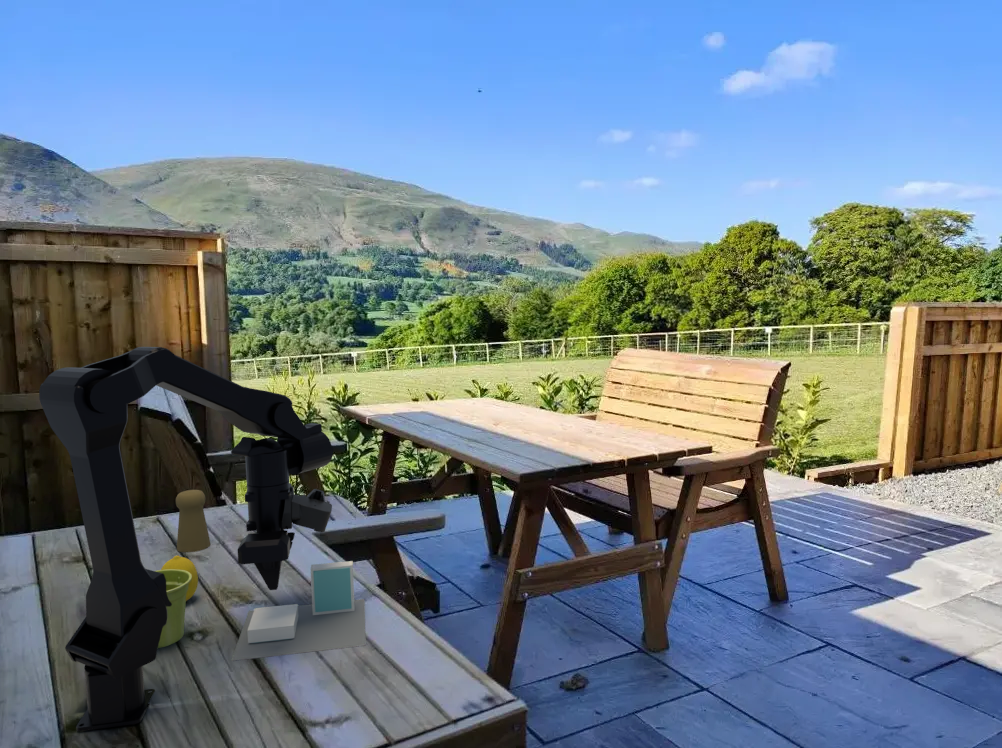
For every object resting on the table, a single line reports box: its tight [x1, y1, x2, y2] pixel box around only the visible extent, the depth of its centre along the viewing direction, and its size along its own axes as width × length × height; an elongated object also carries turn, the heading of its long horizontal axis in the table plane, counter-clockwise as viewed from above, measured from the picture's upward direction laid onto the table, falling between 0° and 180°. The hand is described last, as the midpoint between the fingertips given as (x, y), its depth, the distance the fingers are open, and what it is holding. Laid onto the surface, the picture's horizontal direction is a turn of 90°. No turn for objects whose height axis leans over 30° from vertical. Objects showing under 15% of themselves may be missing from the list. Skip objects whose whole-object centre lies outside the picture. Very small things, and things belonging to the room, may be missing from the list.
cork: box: [175, 489, 211, 553], centre depth 134 cm, size 6×6×11 cm
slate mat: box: [230, 598, 367, 662], centre depth 99 cm, size 15×17×1 cm
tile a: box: [247, 603, 299, 643], centre depth 98 cm, size 2×6×7 cm
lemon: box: [160, 555, 199, 602], centre depth 107 cm, size 6×6×8 cm
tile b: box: [310, 560, 355, 615], centre depth 103 cm, size 2×6×7 cm, turn 102°
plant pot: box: [155, 569, 192, 649], centre depth 96 cm, size 9×9×9 cm
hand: (273, 589), depth 99 cm, fingers closed
